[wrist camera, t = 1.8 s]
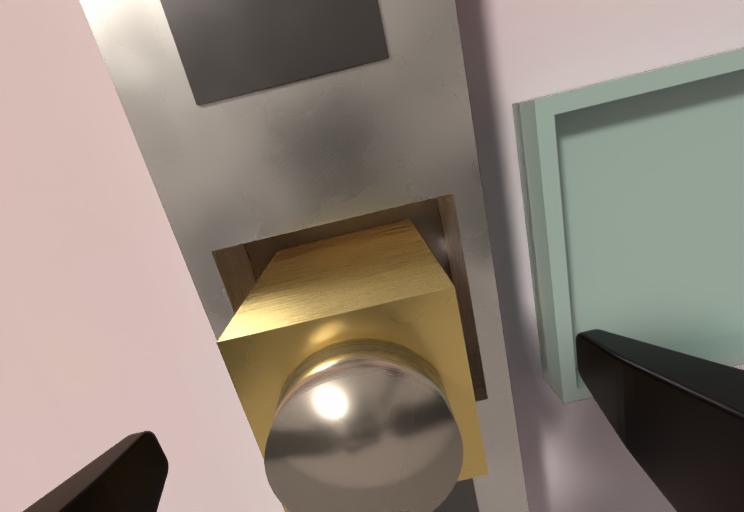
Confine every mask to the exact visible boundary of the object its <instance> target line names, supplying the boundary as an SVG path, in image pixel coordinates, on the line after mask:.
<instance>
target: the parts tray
mask: <svg viewBox="0 0 744 512" xmlns="http://www.w3.org/2000/svg"><path fill="white" fill-rule="evenodd" d="M512 106H513V115H514V124H515V132H516V141H517V150H518V159H519V168H520V176H521V185H522V194H523V203H524V212H525V220H526V229H527V238H528V247H529V256H530V264H531V273H532V282H533V291H534V300H535V308H536V317H537V326H538V335H539V344H540V352H541V361H542V370H543V378H544V379H545V381H546V382H547V383H548V384H549V386H550V387H551V388H552V390H553V391H554V392H555V393H556V395H557V396H558V397H559V399H560V400H561V401H562V402H563V404H566V403H570V402H575V401H579V400H584V399H588V398H593V396H592V394H591V393H590V391H589V390H588V388H587V387H586V385H585V384H584V382H583V380H582V379H581V377H580V374H579V371H578V366H577V354H576V342H575V339H576V335H577V334H578V333H580V332H584V331H588V330H593V329H600V330H604V331H607V332H611V333H614V334H618V335H621V336H625V337H628V338H632V339H635V340H639V341H642V342H646V343H650V344H653V345H657V346H660V347H664V348H667V349H671V350H674V351H678V352H681V353H685V354H688V355H692V356H695V357H699V358H702V359H706V360H709V361H713V362H716V363H720V364H724V365H727V366H731V367H732V366H736V365H741V364H744V48H740V49H736V50H732V51H728V52H724V53H720V54H716V55H712V56H708V57H703V58H699V59H695V60H691V61H687V62H683V63H679V64H675V65H671V66H667V67H663V68H659V69H654V70H650V71H646V72H642V73H638V74H634V75H630V76H626V77H622V78H618V79H614V80H610V81H605V82H601V83H597V84H593V85H589V86H585V87H581V88H577V89H573V90H569V91H565V92H560V93H556V94H552V95H548V96H544V97H540V98H536V99H532V100H528V101H524V102H520V103H516V104H512Z"/></svg>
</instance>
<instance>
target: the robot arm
mask: <svg viewBox="0 0 744 512" xmlns="http://www.w3.org/2000/svg"><path fill="white" fill-rule="evenodd" d="M575 342H576V354H577V366H578V371H579V374H580V377H581V379H582V380H583V382H584V384H585V385H586V387H587V388H588V390H589V391H590V393H591V394H592V396H593V397H594V399H595V401H596V402H597V404H598V405H599V407H600V408H601V410H602V411H603V413H604V415H605V416H606V418H607V419H608V421H609V422H610V424H611V425H612V427H613V428H614V430H615V432H616V433H617V435H618V436H619V438H620V439H621V441H622V442H623V443H624V445H625V446H626V448H627V449H628V450H629V452H630V453H631V454H632V456H633V457H634V458H635V460H636V461H637V462H638V463H639V465H640V466H641V467H642V468H643V470H644V471H645V472H646V473H647V475H648V476H649V477H650V478H651V480H652V481H653V482H654V483H655V485H656V486H657V487H658V488H659V490H660V491H661V492H662V493H663V495H664V496H665V497H666V498H667V500H668V501H669V502H670V503H671V505H672V506H673V507H674V508H675V510H676V511H677V512H744V370H741V369H738V368H734V367H731V366H727V365H724V364H720V363H716V362H713V361H709V360H706V359H702V358H699V357H695V356H692V355H688V354H685V353H681V352H678V351H674V350H671V349H667V348H664V347H660V346H657V345H653V344H650V343H646V342H642V341H639V340H635V339H632V338H628V337H625V336H621V335H618V334H614V333H611V332H607V331H604V330H600V329H593V330H588V331H584V332H580V333H578V334H577V335H576V339H575ZM167 474H168V460H167V458H166V456H165V454H164V452H163V450H162V448H161V446H160V444H159V442H158V440H157V438H156V436H155V434H154V433H152V432H151V431H144V432H140V433H135V434H131V435H129V436H127V437H126V438H124V439H123V440H122V441H120V442H119V443H117V444H116V445H115V446H113V447H112V448H110V449H109V450H108V451H106V452H105V453H103V454H102V455H101V456H99V457H98V458H96V459H95V460H94V461H92V462H91V463H90V464H88V465H87V466H85V467H84V468H83V469H81V470H80V471H78V472H77V473H76V474H74V475H73V476H71V477H70V478H69V479H67V480H66V481H65V482H63V483H62V484H60V485H59V486H58V487H56V488H55V489H53V490H52V491H51V492H49V493H48V494H46V495H45V496H44V497H42V498H41V499H39V500H38V501H37V502H35V503H34V504H33V505H31V506H30V507H28V508H27V509H26V510H24V511H23V512H157V508H158V505H159V502H160V498H161V495H162V491H163V488H164V484H165V481H166V477H167Z"/></svg>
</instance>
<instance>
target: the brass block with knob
mask: <svg viewBox="0 0 744 512" xmlns="http://www.w3.org/2000/svg"><path fill="white" fill-rule="evenodd" d="M217 345H218V347H219V350H220V352H221V355H222V357H223V360H224V362H225V365H226V367H227V369H228V372H229V374H230V377H231V379H232V382H233V384H234V387H235V389H236V392H237V394H238V397H239V399H240V402H241V404H242V407H243V409H244V411H245V414H246V416H247V419H248V421H249V424H250V426H251V429H252V431H253V434H254V436H255V439H256V441H257V444H258V446H259V449H260V451H261V453H262V456H263V458H264V464H265V471H266V475H267V478H268V481H269V484H270V486H271V488H272V490H273V492H274V494H275V495H276V496H277V498H278V499H279V501H280V502H281V503H282V505H283V508H284V510H285V512H432V511H433V510H435V509H436V508H437V507H438V506H439V505H440V504H441V503H442V502H443V501H444V500H445V499H446V498H447V496H448V495H449V494H450V492H451V491H452V489H453V488H454V486H455V484H456V482H457V481H461V480H466V479H470V478H475V477H480V476H484V475H489V473H488V468H487V462H486V457H485V451H484V446H483V440H482V435H481V429H480V423H479V418H478V412H477V407H476V401H475V396H474V390H473V385H472V379H471V374H470V368H469V363H468V357H467V352H466V346H465V340H464V335H463V329H462V324H461V318H460V313H459V307H458V302H457V296H456V291H455V286H454V285H453V283H452V282H451V280H450V279H449V277H448V276H447V274H446V273H445V271H444V270H443V268H442V267H441V265H440V264H439V262H438V261H437V259H436V258H435V256H434V255H433V253H432V252H431V250H430V249H429V247H428V246H427V244H426V243H425V241H424V240H423V238H422V237H421V235H420V234H419V232H418V231H417V229H416V228H415V226H414V225H413V223H412V222H411V220H410V219H408V220H403V221H399V222H395V223H391V224H387V225H382V226H378V227H374V228H370V229H366V230H361V231H357V232H353V233H349V234H345V235H341V236H336V237H332V238H328V239H324V240H320V241H315V242H311V243H307V244H303V245H299V246H294V247H290V248H286V249H282V250H278V251H277V252H276V254H275V255H274V257H273V258H272V260H271V261H270V263H269V264H268V266H267V267H266V269H265V270H264V272H263V273H262V275H261V276H260V278H259V279H258V281H257V282H256V284H255V285H254V287H253V288H252V290H251V291H250V293H249V294H248V296H247V297H246V299H245V300H244V302H243V303H242V305H241V306H240V308H239V309H238V311H237V312H236V314H235V315H234V317H233V318H232V320H231V321H230V323H229V324H228V326H227V327H226V329H225V330H224V332H223V333H222V335H221V336H220V338H219V339H218V341H217Z"/></svg>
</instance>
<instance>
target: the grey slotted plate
mask: <svg viewBox="0 0 744 512" xmlns="http://www.w3.org/2000/svg"><path fill="white" fill-rule="evenodd" d="M80 2H81V5H82V7H83V10H84V12H85V15H86V17H87V20H88V22H89V24H90V27H91V29H92V32H93V34H94V37H95V39H96V42H97V44H98V47H99V49H100V52H101V54H102V57H103V59H104V62H105V64H106V67H107V69H108V72H109V74H110V77H111V79H112V81H113V84H114V86H115V89H116V91H117V94H118V96H119V99H120V101H121V104H122V106H123V109H124V111H125V114H126V116H127V119H128V121H129V124H130V126H131V129H132V131H133V134H134V136H135V138H136V141H137V143H138V146H139V148H140V151H141V153H142V156H143V158H144V161H145V163H146V166H147V168H148V171H149V173H150V176H151V178H152V181H153V183H154V186H155V188H156V191H157V193H158V195H159V198H160V200H161V203H162V205H163V208H164V210H165V213H166V215H167V218H168V220H169V223H170V225H171V228H172V230H173V233H174V235H175V238H176V240H177V243H178V245H179V248H180V250H181V252H182V255H183V257H184V260H185V262H186V265H187V267H188V270H189V272H190V275H191V277H192V280H193V282H194V285H195V287H196V290H197V292H198V295H199V297H200V300H201V302H202V305H203V307H204V309H205V312H206V314H207V317H208V319H209V322H210V324H211V327H212V329H213V332H214V334H215V337H216V339H217V341H218V339H219V338H220V336H221V335H222V333H223V332H224V330H225V329H226V327H227V326H228V324H229V323H230V321H231V320H232V318H233V317H234V315H235V314H236V312H237V311H238V309H239V308H240V306H241V305H242V303H243V302H244V300H245V299H246V297H247V296H248V294H249V293H250V291H251V290H252V288H253V287H254V285H255V284H256V282H257V281H256V278H255V275H254V273H253V270H252V267H251V264H250V261H249V258H248V255H247V253H246V250H245V247H244V243H248V242H252V241H256V240H261V239H265V238H269V237H273V236H277V235H281V234H286V233H290V232H294V231H298V230H302V229H306V228H311V227H315V226H319V225H323V224H327V223H332V222H336V221H340V220H344V219H348V218H352V217H357V216H361V215H365V214H369V213H373V212H377V211H382V210H386V209H390V208H394V207H398V206H403V205H407V204H411V203H415V202H419V201H423V200H428V199H432V198H436V197H437V200H438V205H439V211H440V216H441V222H442V227H443V233H444V238H445V244H446V249H447V255H448V260H449V266H450V271H451V277H452V282H453V285H454V286H455V291H456V296H457V302H458V307H459V313H460V318H461V324H462V329H463V335H464V340H465V346H466V352H467V357H468V363H469V368H470V374H471V379H472V385H473V390H474V396H475V401H476V407H477V412H478V418H479V423H480V429H481V435H482V440H483V446H484V451H485V457H486V462H487V468H488V473H489V475H484V476H480V477H475V478H470V479H466V480H461V481H457V482H456V484H455V486H454V488H453V489H452V491H451V492H450V494H449V495H448V496H447V498H446V499H445V500H444V501H443V502H442V503H441V504H440V505H439V506H438V507H437V508H436V509H435V510H433V511H432V512H529V508H528V501H527V494H526V487H525V480H524V473H523V466H522V459H521V453H520V446H519V439H518V432H517V425H516V418H515V411H514V404H513V397H512V390H511V384H510V377H509V370H508V363H507V356H506V349H505V342H504V335H503V328H502V321H501V315H500V308H499V301H498V294H497V287H496V280H495V273H494V266H493V259H492V253H491V246H490V239H489V232H488V225H487V218H486V211H485V204H484V197H483V190H482V184H481V177H480V170H479V163H478V156H477V149H476V142H475V135H474V128H473V121H472V115H471V108H470V101H469V94H468V87H467V80H466V73H465V66H464V59H463V53H462V46H461V39H460V32H459V25H458V18H457V11H456V4H455V0H80Z"/></svg>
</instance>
